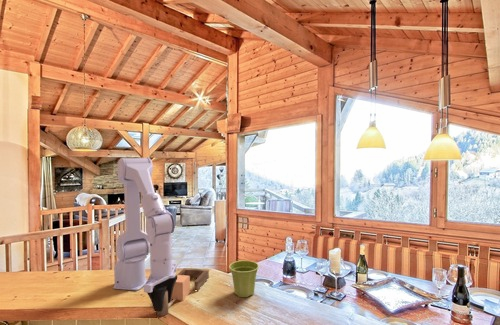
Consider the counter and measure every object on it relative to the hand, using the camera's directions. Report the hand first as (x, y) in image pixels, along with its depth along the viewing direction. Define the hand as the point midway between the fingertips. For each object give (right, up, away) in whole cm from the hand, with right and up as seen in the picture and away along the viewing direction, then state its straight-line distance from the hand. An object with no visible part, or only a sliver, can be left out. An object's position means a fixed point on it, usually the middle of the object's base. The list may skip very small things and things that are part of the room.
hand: (162, 306), depth 77 cm
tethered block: (+1, -2, +5) cm, 6 cm away
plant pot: (+23, -1, +11) cm, 25 cm away
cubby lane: (+4, -2, +18) cm, 19 cm away
